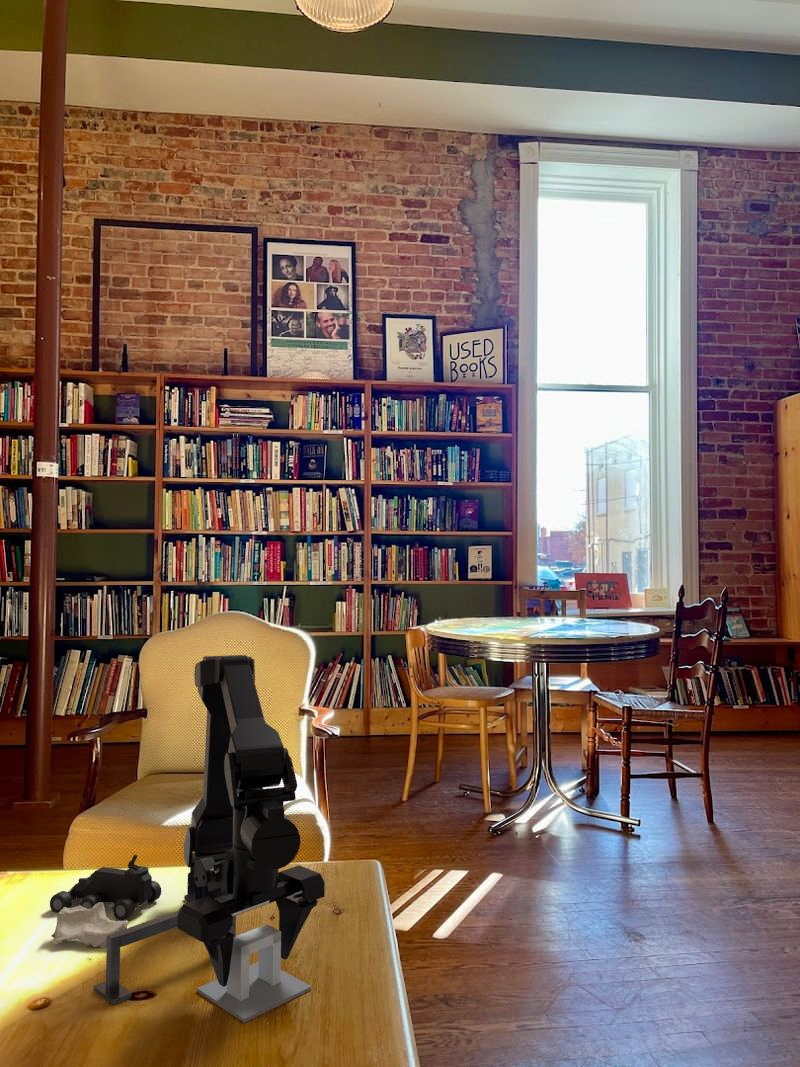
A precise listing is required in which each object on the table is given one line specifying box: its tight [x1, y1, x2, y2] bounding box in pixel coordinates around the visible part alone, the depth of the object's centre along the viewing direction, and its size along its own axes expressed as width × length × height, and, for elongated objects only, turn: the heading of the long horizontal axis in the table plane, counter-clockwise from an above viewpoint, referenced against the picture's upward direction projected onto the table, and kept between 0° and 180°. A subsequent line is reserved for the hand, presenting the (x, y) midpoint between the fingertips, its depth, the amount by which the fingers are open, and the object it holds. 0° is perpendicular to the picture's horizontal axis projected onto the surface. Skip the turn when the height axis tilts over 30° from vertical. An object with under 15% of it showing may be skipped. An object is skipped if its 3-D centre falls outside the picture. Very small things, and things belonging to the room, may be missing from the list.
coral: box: [51, 902, 129, 948], centre depth 109 cm, size 6×10×4 cm, turn 94°
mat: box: [196, 961, 312, 1024], centre depth 95 cm, size 10×10×1 cm
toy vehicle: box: [49, 854, 162, 921], centre depth 121 cm, size 8×15×9 cm, turn 73°
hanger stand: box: [93, 894, 237, 1006], centre depth 101 cm, size 19×5×7 cm, turn 137°
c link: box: [226, 923, 282, 1001], centre depth 95 cm, size 3×6×6 cm, turn 137°
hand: (254, 971), depth 95 cm, fingers open, 9 cm apart
